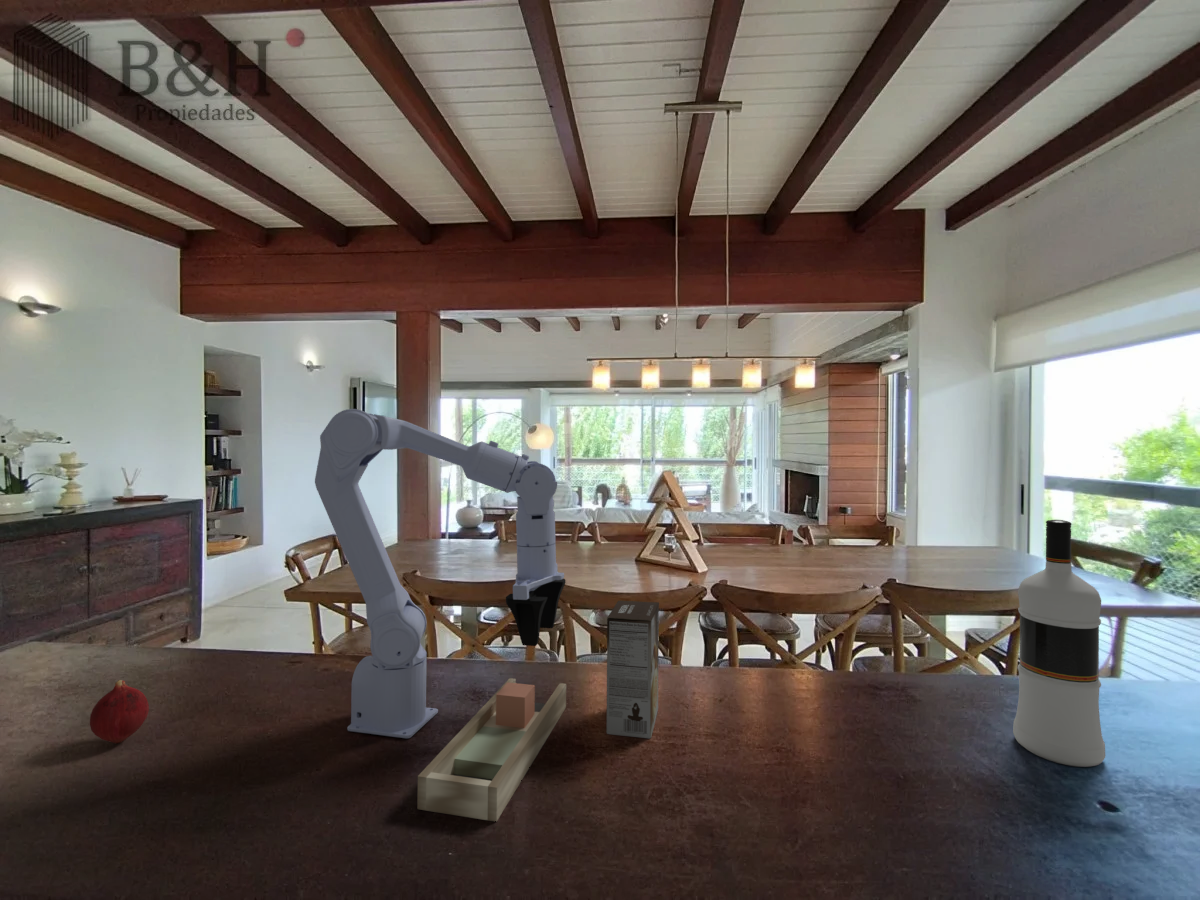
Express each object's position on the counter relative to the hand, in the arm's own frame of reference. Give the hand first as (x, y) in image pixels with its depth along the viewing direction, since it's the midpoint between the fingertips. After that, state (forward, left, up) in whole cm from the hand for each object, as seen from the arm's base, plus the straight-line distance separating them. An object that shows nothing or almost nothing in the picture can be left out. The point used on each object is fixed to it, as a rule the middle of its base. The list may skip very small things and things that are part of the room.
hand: (538, 635), depth 82 cm
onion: (-50, -21, -11) cm, 55 cm away
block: (-1, -7, -9) cm, 12 cm away
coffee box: (+14, 0, -11) cm, 18 cm away
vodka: (+69, +5, -11) cm, 70 cm away
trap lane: (-1, -11, -11) cm, 16 cm away
